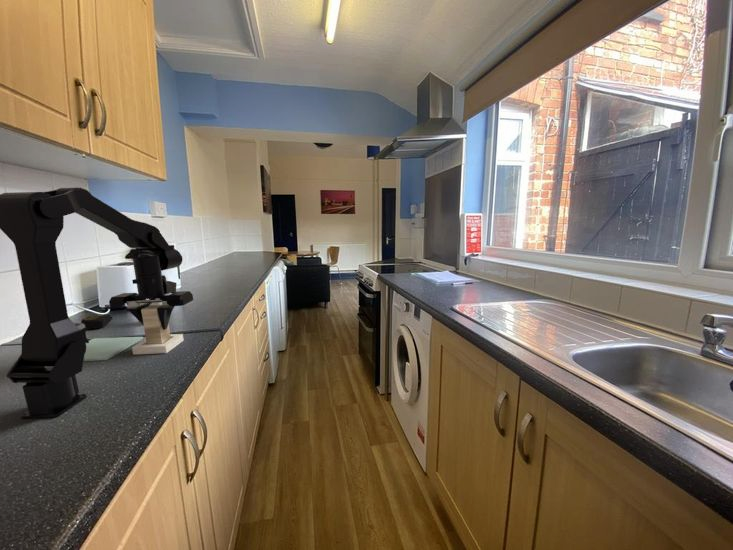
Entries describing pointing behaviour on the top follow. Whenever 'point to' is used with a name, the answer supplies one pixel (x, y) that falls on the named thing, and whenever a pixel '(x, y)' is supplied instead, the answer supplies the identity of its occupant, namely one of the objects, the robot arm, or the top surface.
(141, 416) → the top surface
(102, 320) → the tape measure
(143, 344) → the beige square frame
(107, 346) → the pad
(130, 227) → the robot arm
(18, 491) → the top surface
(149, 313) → the peg
